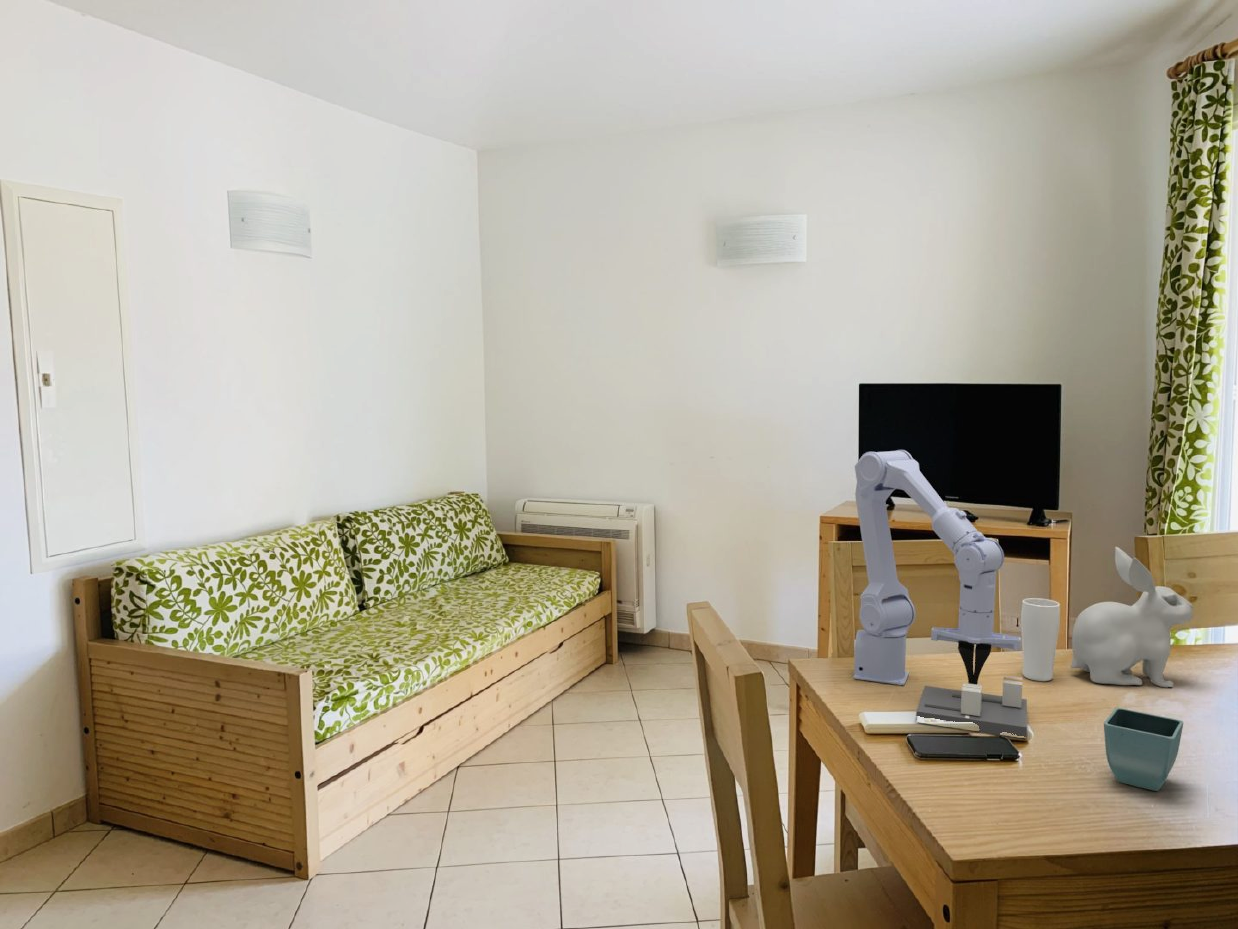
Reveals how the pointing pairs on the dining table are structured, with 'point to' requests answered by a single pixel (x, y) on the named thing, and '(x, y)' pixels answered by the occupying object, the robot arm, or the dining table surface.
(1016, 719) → the panel
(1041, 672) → the drinking glass
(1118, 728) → the flower pot
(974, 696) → the near fader knob
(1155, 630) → the rabbit
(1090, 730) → the dining table surface
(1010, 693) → the far fader knob
